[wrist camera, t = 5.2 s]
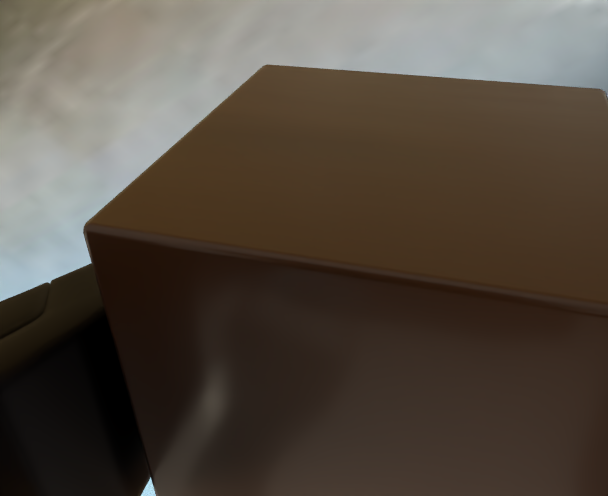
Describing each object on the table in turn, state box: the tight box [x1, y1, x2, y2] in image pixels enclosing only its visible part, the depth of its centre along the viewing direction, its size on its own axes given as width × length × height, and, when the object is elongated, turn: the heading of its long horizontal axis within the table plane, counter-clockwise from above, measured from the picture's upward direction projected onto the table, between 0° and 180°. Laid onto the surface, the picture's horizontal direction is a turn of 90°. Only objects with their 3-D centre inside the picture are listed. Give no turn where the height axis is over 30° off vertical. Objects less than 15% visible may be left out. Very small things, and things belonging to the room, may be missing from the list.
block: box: [83, 65, 608, 496], centre depth 8 cm, size 5×5×5 cm
